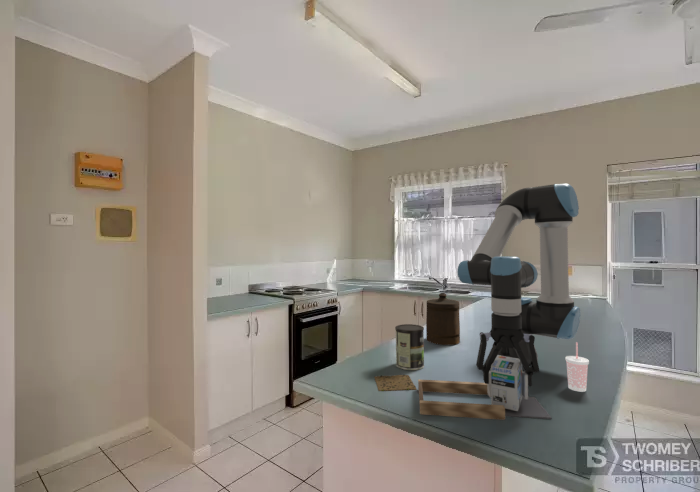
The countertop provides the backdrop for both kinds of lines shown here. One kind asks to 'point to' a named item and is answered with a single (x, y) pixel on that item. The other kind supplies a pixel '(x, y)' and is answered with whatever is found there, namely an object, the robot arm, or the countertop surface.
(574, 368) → the beverage cup
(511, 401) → the light bulb box
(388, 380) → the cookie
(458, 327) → the wooden container
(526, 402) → the rubber mat
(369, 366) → the countertop surface
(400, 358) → the coffee can
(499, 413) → the oak open-sided frame
